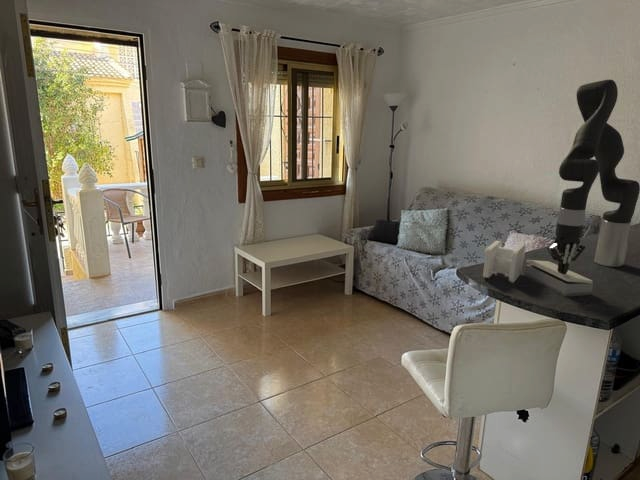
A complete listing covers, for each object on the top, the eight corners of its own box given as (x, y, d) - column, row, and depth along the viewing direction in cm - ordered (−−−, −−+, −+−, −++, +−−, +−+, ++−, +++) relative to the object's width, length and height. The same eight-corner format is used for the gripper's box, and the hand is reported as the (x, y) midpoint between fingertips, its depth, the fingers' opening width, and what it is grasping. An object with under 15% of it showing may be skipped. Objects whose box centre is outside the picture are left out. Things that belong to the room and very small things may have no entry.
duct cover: (548, 263, 163) (549, 260, 162) (592, 283, 144) (593, 279, 144) (526, 261, 160) (526, 258, 160) (567, 281, 142) (568, 278, 141)
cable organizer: (512, 286, 151) (517, 253, 148) (480, 279, 157) (484, 247, 154) (522, 274, 163) (526, 243, 160) (492, 268, 169) (495, 238, 165)
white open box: (547, 273, 164) (549, 263, 163) (591, 294, 145) (593, 283, 144) (523, 275, 162) (525, 264, 161) (564, 296, 143) (566, 284, 142)
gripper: (579, 218, 148) (570, 268, 153) (544, 220, 145) (536, 271, 150) (597, 223, 141) (588, 275, 146) (561, 225, 138) (552, 278, 143)
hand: (562, 273), depth 148 cm, fingers closed
